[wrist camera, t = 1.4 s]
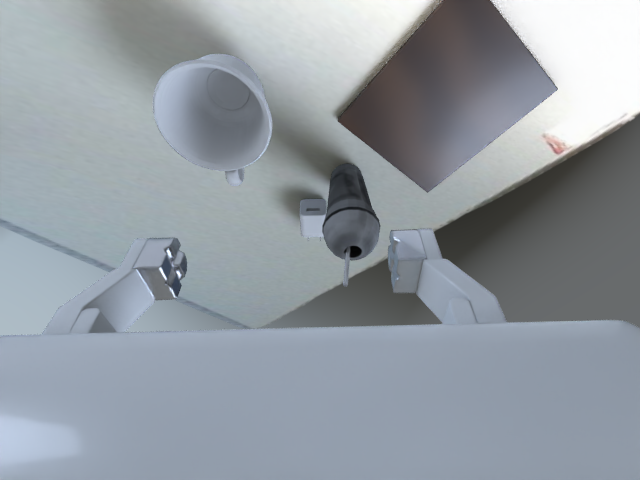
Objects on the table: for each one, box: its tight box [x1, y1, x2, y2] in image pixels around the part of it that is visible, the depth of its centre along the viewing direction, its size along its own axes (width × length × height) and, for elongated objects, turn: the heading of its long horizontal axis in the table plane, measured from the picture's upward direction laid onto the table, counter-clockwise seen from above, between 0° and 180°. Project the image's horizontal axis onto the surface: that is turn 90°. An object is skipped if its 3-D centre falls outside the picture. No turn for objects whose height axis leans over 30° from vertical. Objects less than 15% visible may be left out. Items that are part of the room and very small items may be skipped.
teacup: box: [153, 54, 272, 186], centre depth 42 cm, size 12×15×10 cm
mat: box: [338, 0, 558, 192], centre depth 46 cm, size 20×18×1 cm
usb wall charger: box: [300, 199, 326, 241], centre depth 58 cm, size 4×7×4 cm, turn 1°
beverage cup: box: [322, 164, 380, 286], centre depth 47 cm, size 7×7×20 cm
